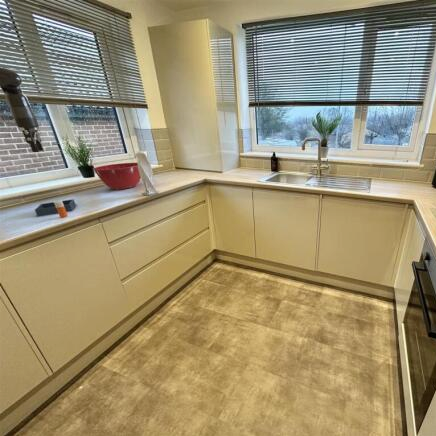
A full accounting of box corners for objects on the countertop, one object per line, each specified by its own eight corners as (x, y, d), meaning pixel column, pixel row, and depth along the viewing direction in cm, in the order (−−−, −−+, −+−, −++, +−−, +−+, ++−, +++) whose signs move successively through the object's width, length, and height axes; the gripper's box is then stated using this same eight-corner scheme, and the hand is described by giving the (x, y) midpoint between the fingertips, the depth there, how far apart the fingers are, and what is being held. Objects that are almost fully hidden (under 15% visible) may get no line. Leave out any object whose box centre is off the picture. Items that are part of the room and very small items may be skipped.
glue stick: (59, 219, 115) (52, 202, 111) (63, 217, 117) (56, 200, 114) (65, 219, 115) (59, 202, 112) (70, 216, 118) (63, 200, 114)
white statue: (141, 194, 152) (128, 149, 142) (153, 191, 159) (142, 147, 148) (147, 196, 148) (135, 149, 137) (160, 193, 154) (149, 148, 144)
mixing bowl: (90, 191, 162) (81, 168, 157) (127, 181, 188) (121, 161, 182) (121, 194, 154) (113, 170, 149) (156, 183, 180) (151, 162, 174)
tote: (38, 218, 117) (34, 209, 116) (44, 211, 126) (40, 203, 124) (72, 212, 124) (69, 204, 122) (76, 206, 132) (73, 199, 131)
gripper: (19, 117, 120) (32, 150, 126) (8, 116, 109) (23, 153, 115) (39, 117, 124) (51, 149, 130) (30, 116, 113) (44, 152, 119)
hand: (38, 151), depth 123 cm, fingers open, 8 cm apart
